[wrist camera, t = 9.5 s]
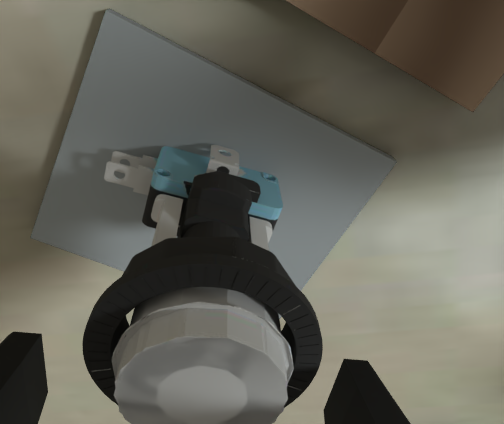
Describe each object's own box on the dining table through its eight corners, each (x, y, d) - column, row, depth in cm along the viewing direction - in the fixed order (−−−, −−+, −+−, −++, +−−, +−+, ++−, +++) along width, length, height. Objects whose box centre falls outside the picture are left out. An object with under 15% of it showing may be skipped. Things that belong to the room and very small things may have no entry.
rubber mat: (392, 157, 18) (396, 162, 18) (273, 318, 22) (274, 325, 22) (109, 8, 15) (105, 10, 14) (34, 231, 19) (30, 237, 19)
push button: (104, 209, 18) (-9, 443, 9) (127, 85, 15) (0, 251, 7) (256, 246, 19) (279, 481, 11) (301, 138, 17) (376, 332, 8)
